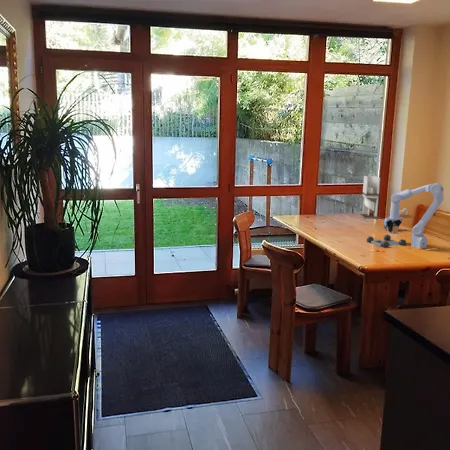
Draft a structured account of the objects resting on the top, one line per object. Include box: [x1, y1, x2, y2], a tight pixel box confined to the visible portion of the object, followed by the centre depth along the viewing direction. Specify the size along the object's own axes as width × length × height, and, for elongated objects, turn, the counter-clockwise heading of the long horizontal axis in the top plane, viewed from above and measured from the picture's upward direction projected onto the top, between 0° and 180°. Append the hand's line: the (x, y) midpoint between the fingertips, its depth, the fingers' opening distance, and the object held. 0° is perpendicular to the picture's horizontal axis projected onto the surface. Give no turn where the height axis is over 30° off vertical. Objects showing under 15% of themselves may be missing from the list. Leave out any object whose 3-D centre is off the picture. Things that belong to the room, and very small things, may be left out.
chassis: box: [366, 234, 407, 249], centre depth 324 cm, size 16×20×5 cm
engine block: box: [386, 224, 400, 235], centre depth 325 cm, size 5×4×6 cm
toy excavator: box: [383, 207, 409, 231], centre depth 368 cm, size 9×17×17 cm, turn 78°
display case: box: [360, 175, 381, 220], centre depth 413 cm, size 11×11×35 cm
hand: (392, 231), depth 325 cm, fingers closed on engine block, 4 cm apart
